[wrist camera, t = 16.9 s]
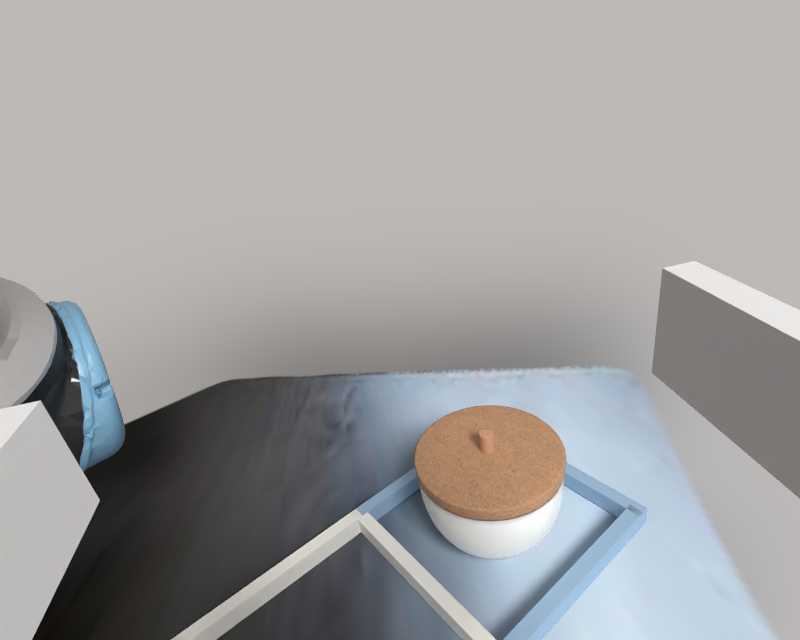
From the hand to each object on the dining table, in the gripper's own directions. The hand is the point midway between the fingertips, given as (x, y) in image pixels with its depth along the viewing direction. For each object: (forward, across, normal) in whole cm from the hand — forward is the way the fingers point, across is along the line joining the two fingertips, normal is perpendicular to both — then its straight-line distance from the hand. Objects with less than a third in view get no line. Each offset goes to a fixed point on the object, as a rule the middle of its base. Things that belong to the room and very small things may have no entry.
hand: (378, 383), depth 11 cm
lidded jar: (+17, +7, -27) cm, 33 cm away
